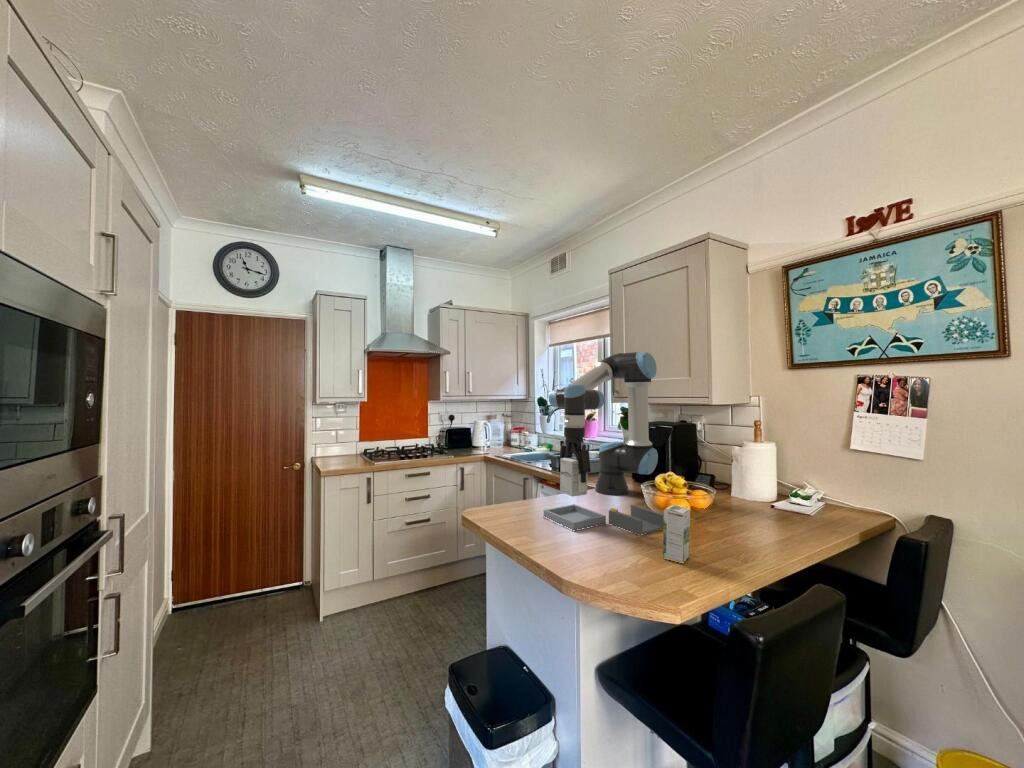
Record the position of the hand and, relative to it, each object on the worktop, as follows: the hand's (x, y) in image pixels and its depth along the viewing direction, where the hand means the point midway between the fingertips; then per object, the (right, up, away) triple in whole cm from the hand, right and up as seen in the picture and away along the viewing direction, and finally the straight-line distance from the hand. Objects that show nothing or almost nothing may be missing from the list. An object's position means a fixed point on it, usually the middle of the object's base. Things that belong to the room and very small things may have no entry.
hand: (573, 488), depth 152 cm
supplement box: (0, -2, 0) cm, 2 cm away
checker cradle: (+21, -12, -6) cm, 25 cm away
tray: (0, -12, 0) cm, 12 cm away
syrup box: (+24, -12, -33) cm, 43 cm away
